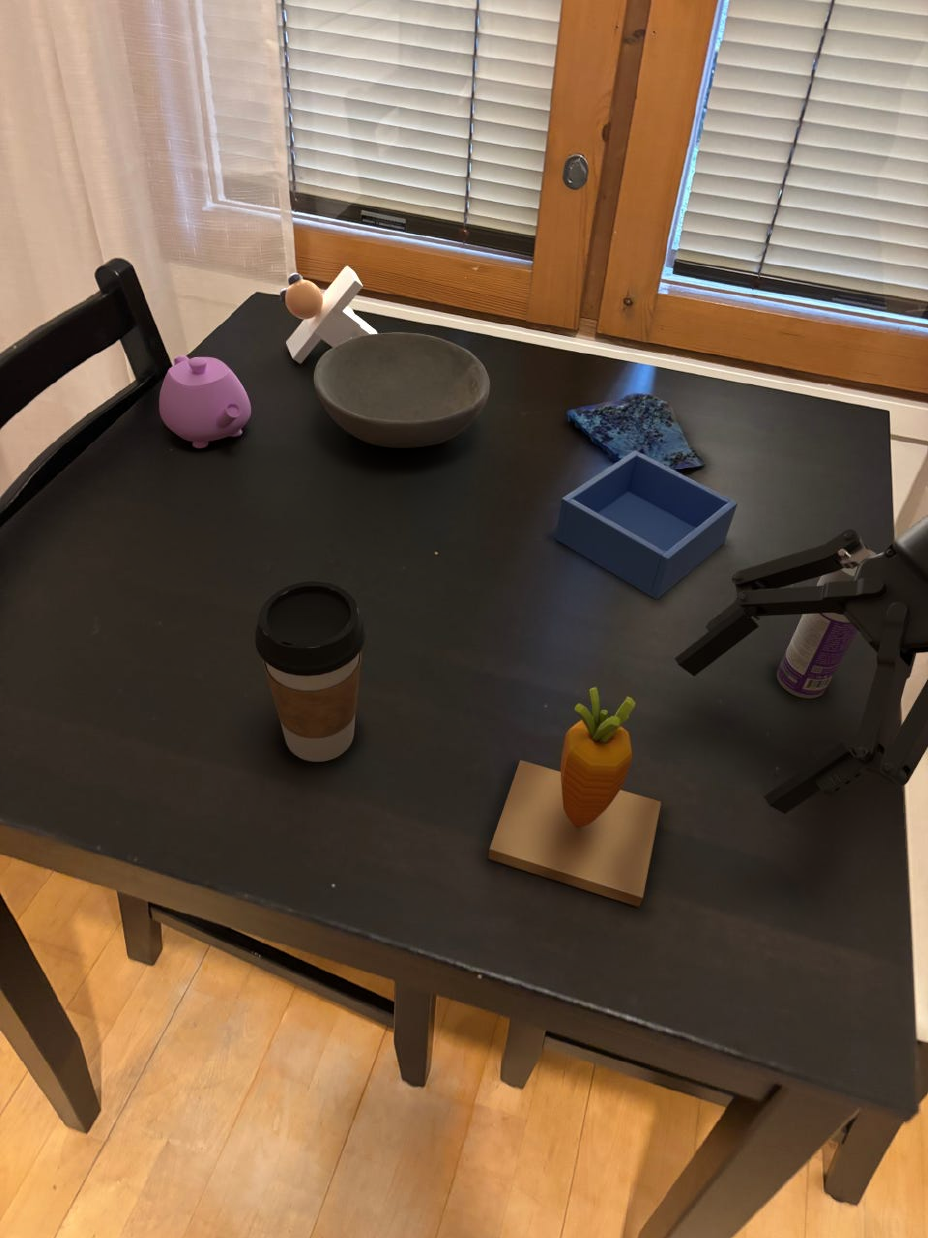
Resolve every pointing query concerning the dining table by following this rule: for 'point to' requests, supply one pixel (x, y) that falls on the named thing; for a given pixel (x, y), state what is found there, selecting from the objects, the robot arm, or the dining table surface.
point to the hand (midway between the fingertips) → (725, 732)
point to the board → (576, 837)
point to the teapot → (203, 400)
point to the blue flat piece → (637, 430)
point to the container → (817, 647)
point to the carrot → (594, 760)
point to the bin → (644, 522)
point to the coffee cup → (313, 665)
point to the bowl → (401, 388)
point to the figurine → (323, 313)
